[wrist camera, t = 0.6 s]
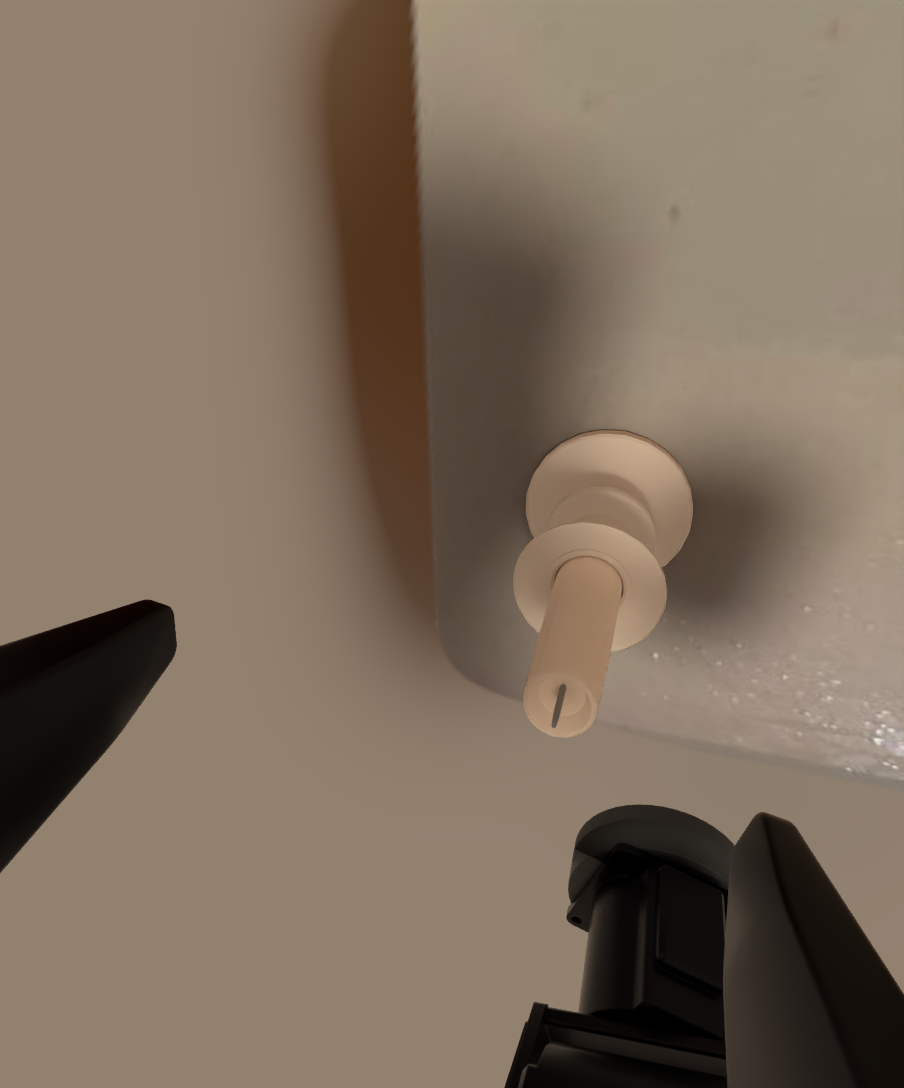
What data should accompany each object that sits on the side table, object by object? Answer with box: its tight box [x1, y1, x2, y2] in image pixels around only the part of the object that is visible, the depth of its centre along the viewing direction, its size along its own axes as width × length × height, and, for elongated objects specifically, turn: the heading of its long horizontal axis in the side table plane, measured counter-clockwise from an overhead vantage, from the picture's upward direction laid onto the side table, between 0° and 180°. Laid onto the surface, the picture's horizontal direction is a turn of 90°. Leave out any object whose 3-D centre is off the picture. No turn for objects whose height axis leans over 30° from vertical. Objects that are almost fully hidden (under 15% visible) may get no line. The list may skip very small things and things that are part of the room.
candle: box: [513, 430, 693, 738], centre depth 17 cm, size 5×5×10 cm
